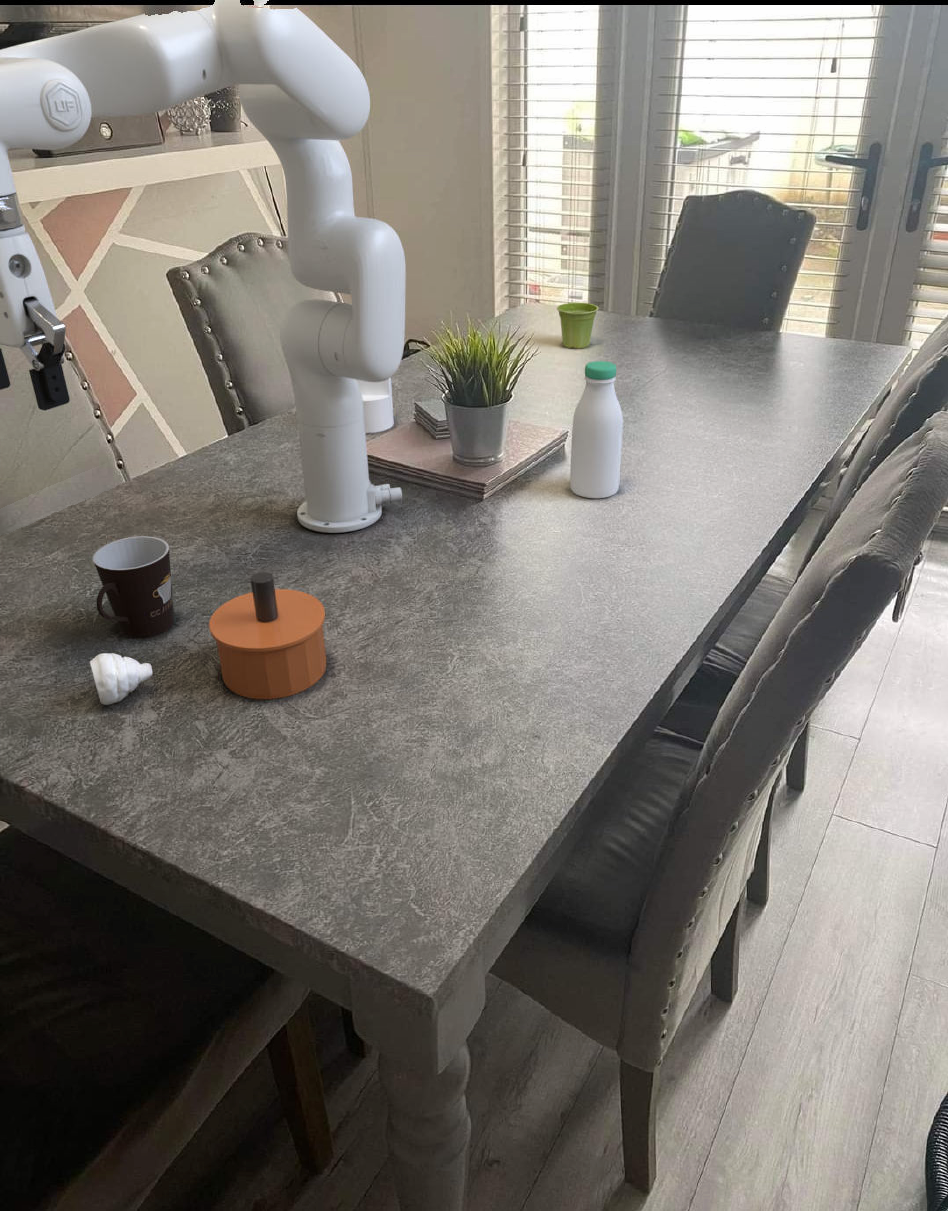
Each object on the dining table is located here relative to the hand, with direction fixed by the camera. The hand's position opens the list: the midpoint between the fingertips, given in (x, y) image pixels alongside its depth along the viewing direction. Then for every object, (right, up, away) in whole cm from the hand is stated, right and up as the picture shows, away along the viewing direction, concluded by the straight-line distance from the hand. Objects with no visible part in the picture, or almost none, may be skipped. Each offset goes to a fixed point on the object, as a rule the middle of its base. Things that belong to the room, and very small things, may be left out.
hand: (24, 397), depth 97 cm
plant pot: (+69, +39, +126) cm, 149 cm away
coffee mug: (+4, -24, +21) cm, 32 cm away
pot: (+23, -28, +13) cm, 38 cm away
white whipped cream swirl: (+7, -31, +9) cm, 33 cm away
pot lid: (+22, -23, +10) cm, 33 cm away
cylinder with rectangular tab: (+26, +13, +82) cm, 87 cm away
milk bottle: (+64, -3, +55) cm, 85 cm away
